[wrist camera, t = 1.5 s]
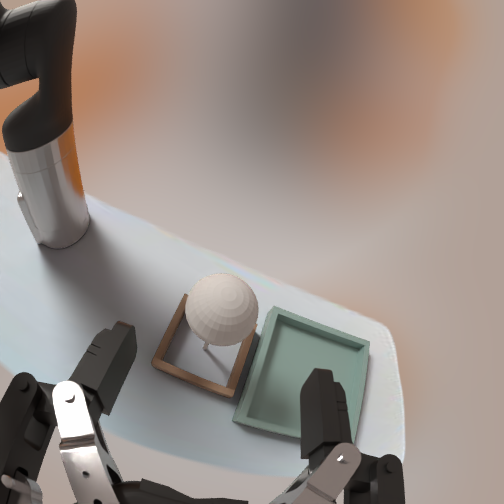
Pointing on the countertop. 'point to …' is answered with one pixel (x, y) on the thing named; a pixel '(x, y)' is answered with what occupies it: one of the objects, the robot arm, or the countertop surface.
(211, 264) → the countertop surface
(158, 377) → the countertop surface
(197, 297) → the lollipop
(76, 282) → the countertop surface
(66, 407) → the robot arm
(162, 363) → the square wooden frame
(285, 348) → the tray
